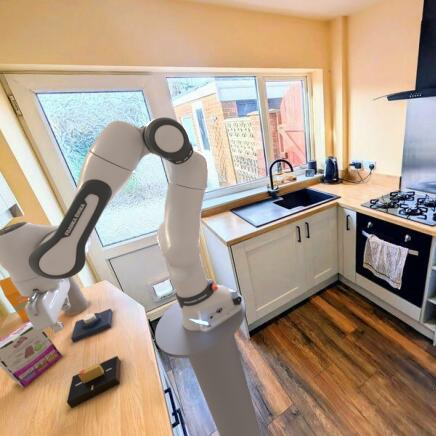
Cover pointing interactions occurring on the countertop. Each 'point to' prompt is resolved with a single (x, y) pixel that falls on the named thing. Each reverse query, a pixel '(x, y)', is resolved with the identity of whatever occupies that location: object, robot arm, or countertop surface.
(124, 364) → the countertop surface
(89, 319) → the bell button
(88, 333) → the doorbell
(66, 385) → the countertop surface
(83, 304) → the thermos bottle
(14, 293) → the orange juice
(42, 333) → the candy bar box
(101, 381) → the plate
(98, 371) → the lock knob
